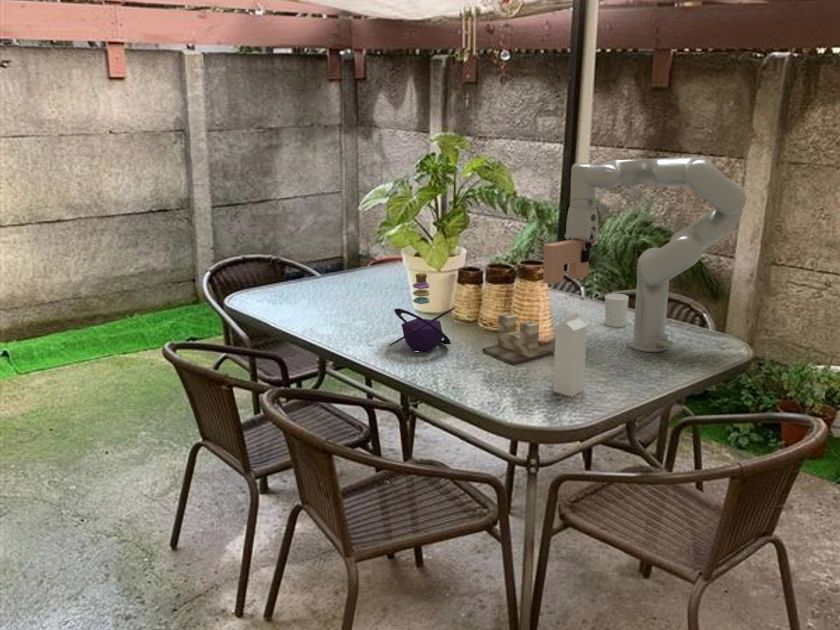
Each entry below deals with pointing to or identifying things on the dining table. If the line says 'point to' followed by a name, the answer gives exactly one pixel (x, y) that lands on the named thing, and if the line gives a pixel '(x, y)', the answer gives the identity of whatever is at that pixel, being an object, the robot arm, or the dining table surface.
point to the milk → (570, 356)
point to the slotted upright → (517, 341)
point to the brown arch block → (563, 261)
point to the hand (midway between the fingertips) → (580, 260)
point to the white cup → (616, 309)
